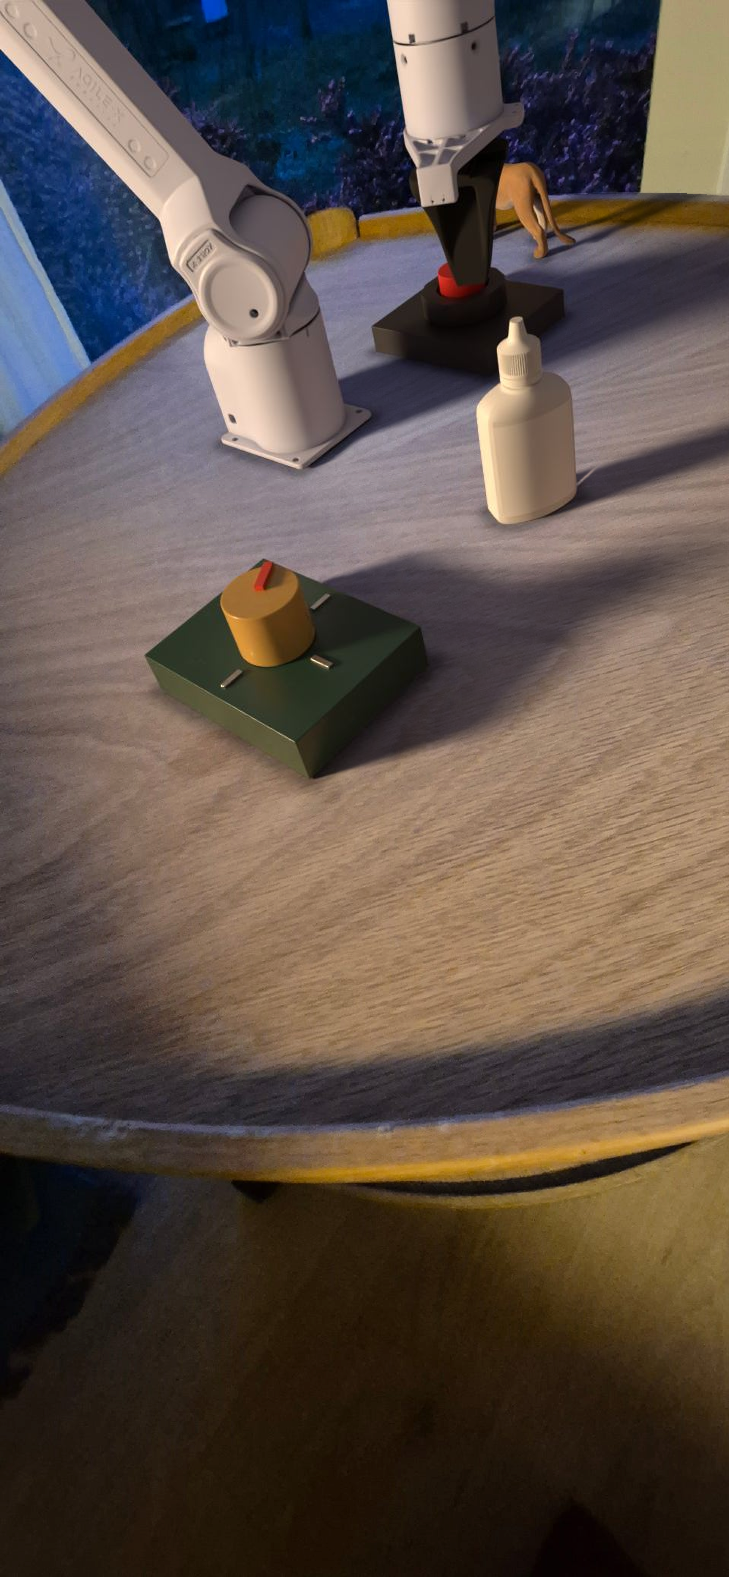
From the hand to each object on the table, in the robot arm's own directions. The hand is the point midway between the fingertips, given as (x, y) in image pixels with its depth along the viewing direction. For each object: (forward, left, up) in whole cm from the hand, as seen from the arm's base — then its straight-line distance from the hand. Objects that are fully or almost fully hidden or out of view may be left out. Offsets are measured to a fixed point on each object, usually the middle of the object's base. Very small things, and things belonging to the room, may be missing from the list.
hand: (473, 280), depth 62 cm
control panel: (+7, -28, -9) cm, 30 cm away
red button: (-9, +9, -6) cm, 14 cm away
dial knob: (+7, -28, -6) cm, 30 cm away
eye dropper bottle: (+10, -8, -10) cm, 16 cm away
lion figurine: (-17, +24, -10) cm, 31 cm away
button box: (-9, +9, -9) cm, 16 cm away
